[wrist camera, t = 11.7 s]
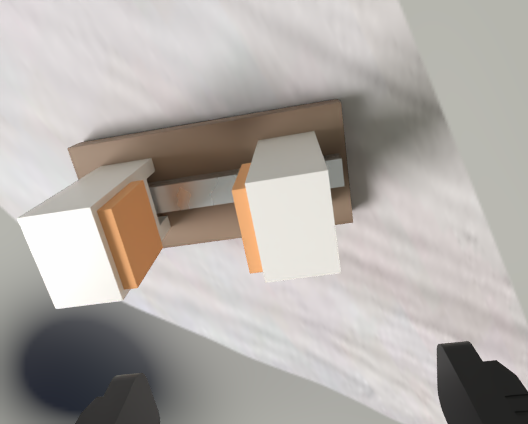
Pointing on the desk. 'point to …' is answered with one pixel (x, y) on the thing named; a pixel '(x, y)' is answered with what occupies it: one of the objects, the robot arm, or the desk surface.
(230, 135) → the rail
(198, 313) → the desk surface
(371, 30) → the desk surface
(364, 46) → the desk surface
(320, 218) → the white block with pad
